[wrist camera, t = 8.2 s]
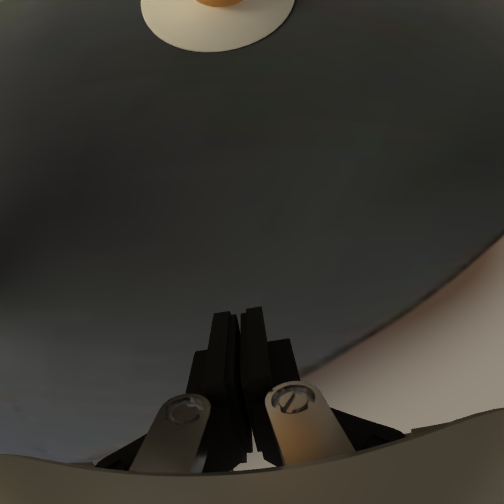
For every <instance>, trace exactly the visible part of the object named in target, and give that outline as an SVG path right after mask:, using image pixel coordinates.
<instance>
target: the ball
mask: <svg viewBox="0 0 504 504" xmlns="http://www.w3.org/2000/svg"><path fill="white" fill-rule="evenodd" d="M196 1H198V2H199V3H201V4H204V5H207V6H211V7H228V6H232V5H235V4H238V3H240V2H242V1H243V0H196Z"/></svg>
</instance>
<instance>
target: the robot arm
mask: <svg viewBox="0 0 504 504" xmlns="http://www.w3.org/2000/svg"><path fill="white" fill-rule="evenodd" d="M252 431H253V435H254V439H255V443H256V447H257V451H258V452H259V451H260V452H261V451H262V453H263V457H264V460H266V461H268V462H270V463H272V464H273V465H275V466H277V467H271V468H263V469H253V470H243V471H234V470H233V468H234V467H236V466H237V465H238V464H240V463H246V462H247V453H252V452H253V446H252ZM0 504H504V408H499V409H492V410H489V411H485V412H480V413H476V414H473V415H470V416H467V417H463V418H461V419H457V420H454V421H452V422H448V423H443V424H438V425H433V426H428V427H421V428H416V429H411V433H408V434H403V433H402V432H400V431H398V430H396V429H394V428H391V427H387V426H384V425H381V424H377V423H374V422H371V421H368V420H365V419H362V418H359V417H356V416H353V415H350V414H347V413H344V412H341V411H339V410H336V409H333V408H330V407H329V405H328V404H327V402H326V400H325V399H324V397H323V395H322V394H321V392H320V390H319V389H318V388H317V387H316V386H314V385H312V384H311V383H308V382H303V381H300V378H299V374H298V370H297V366H296V362H295V358H294V354H293V350H292V346H291V343H290V339H289V338H288V339H282V340H276V341H270V342H267V337H266V330H265V324H264V318H263V312H262V306H261V307H255V308H248V309H246V313H242V314H241V335H240V330H239V325H238V320H237V315H236V314H235V315H231V314H230V311H228V312H220V313H214V316H213V321H212V327H211V333H210V338H209V344H208V350H202V351H196V352H195V354H194V358H193V363H192V367H191V372H190V376H189V381H188V385H187V390H186V394H182V395H178V396H175V397H173V398H171V399H169V400H168V401H167V402H165V403H164V404H163V405H162V407H161V408H160V410H159V412H158V413H157V415H156V417H155V419H154V421H153V423H152V425H151V427H150V429H149V431H148V433H147V434H145V435H144V436H142V437H140V438H139V439H137V440H135V441H133V442H132V443H130V444H128V445H127V446H125V447H123V448H121V449H120V450H118V451H116V452H114V453H112V454H111V455H109V456H107V457H105V458H104V459H102V460H101V461H99V462H98V463H97V465H94V464H93V462H84V463H63V462H57V461H52V460H46V459H40V458H35V457H30V456H21V455H13V454H0Z"/></svg>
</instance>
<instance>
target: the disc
mask: <svg viewBox="0 0 504 504" xmlns="http://www.w3.org/2000/svg"><path fill="white" fill-rule="evenodd" d="M294 1H295V0H243V1H242V2H240V3H238V4H235V5H232V6H228V7H211V6H207V5H204V4H201V3H199V2H198V1H196V0H141V10H142V15H143V17H144V20H145V22H146V24H147V25H148V27H149V28H150V29H151V30H152V32H153V33H154V34H155V35H157V36H158V37H159V38H160V39H162V40H163V41H165V42H166V43H168V44H171V45H173V46H175V47H178V48H181V49H184V50H190V51H195V52H221V51H229V50H233V49H238V48H241V47H244V46H247V45H250V44H252V43H255V42H257V41H259V40H261V39H262V38H264V37H266V36H268V35H269V34H270V33H272V32H273V31H275V30H276V29H277V28H278V27H279V26H280V25H281V24H282V23H283V22H284V20H285V19H286V18H287V17H288V15H289V13H290V11H291V9H292V7H293V4H294Z"/></svg>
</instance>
